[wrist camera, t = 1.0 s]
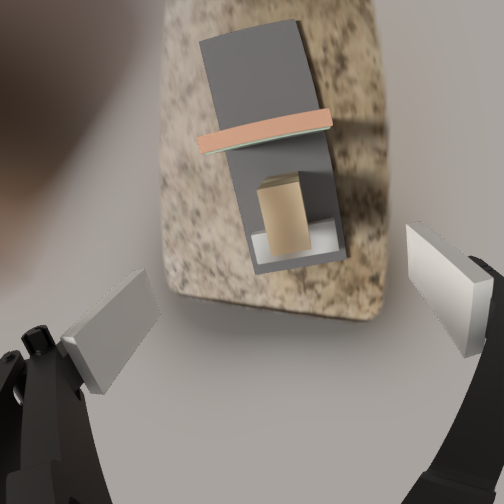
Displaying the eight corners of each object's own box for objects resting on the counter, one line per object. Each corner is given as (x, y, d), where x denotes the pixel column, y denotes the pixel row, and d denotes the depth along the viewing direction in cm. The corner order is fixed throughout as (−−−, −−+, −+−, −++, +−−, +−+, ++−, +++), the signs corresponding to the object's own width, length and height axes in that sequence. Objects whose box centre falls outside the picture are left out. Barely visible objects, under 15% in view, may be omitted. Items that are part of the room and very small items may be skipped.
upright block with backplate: (323, 166, 29) (334, 175, 21) (337, 246, 31) (349, 280, 24) (240, 182, 30) (222, 197, 23) (259, 260, 33) (248, 296, 25)
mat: (294, 20, 24) (294, 18, 24) (346, 257, 32) (346, 259, 31) (200, 43, 26) (198, 41, 26) (255, 272, 34) (255, 274, 33)
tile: (318, 117, 27) (329, 108, 19) (321, 131, 28) (333, 127, 19) (224, 137, 29) (196, 137, 20) (227, 151, 29) (201, 156, 21)
